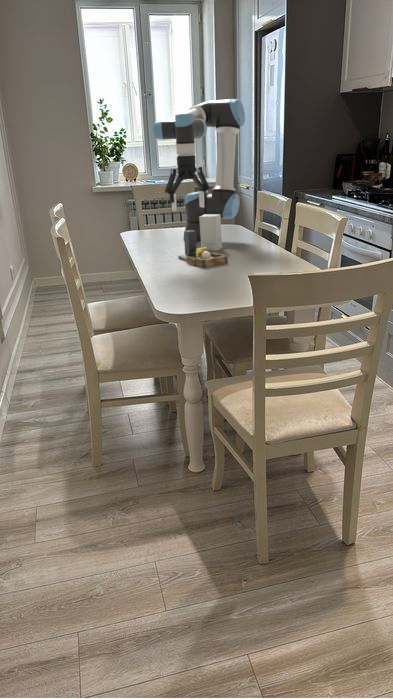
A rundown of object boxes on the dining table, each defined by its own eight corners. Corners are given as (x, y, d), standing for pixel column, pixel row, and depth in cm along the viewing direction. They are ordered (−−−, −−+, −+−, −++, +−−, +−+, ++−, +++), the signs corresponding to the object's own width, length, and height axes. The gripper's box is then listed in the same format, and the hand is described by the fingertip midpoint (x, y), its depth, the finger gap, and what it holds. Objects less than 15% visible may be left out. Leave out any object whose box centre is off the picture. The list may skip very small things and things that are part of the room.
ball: (207, 258, 219) (207, 249, 217) (212, 259, 216) (212, 251, 214) (200, 259, 217) (200, 251, 215) (205, 261, 214) (204, 252, 213)
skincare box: (222, 248, 241) (221, 214, 235) (216, 251, 236) (216, 216, 230) (206, 247, 245) (204, 213, 239) (200, 250, 239) (198, 215, 233)
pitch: (200, 254, 231) (200, 247, 230) (228, 262, 215) (228, 255, 213) (175, 259, 225) (175, 252, 224) (202, 268, 208) (202, 260, 207)
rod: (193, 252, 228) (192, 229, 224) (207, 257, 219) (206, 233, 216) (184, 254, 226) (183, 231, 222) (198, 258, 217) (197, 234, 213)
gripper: (206, 153, 219) (208, 205, 227) (154, 156, 207) (158, 211, 215) (216, 153, 213) (217, 206, 221) (163, 157, 201) (166, 213, 209)
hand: (188, 209), depth 218 cm, fingers open, 13 cm apart
